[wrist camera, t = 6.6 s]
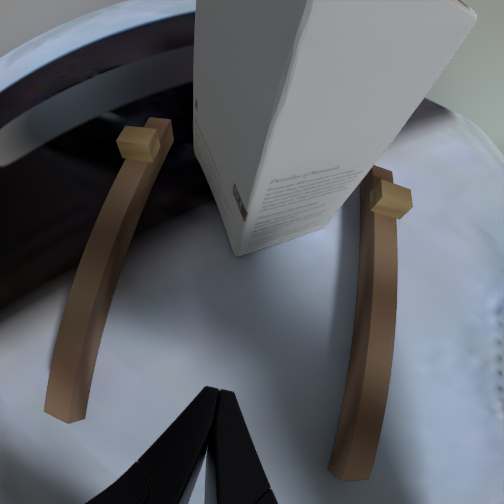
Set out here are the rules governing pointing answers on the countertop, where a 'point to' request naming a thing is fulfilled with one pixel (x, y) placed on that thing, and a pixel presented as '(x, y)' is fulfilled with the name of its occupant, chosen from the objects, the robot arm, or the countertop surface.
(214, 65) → the skincare box
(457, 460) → the countertop surface
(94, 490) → the countertop surface
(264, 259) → the countertop surface
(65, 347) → the guide track
